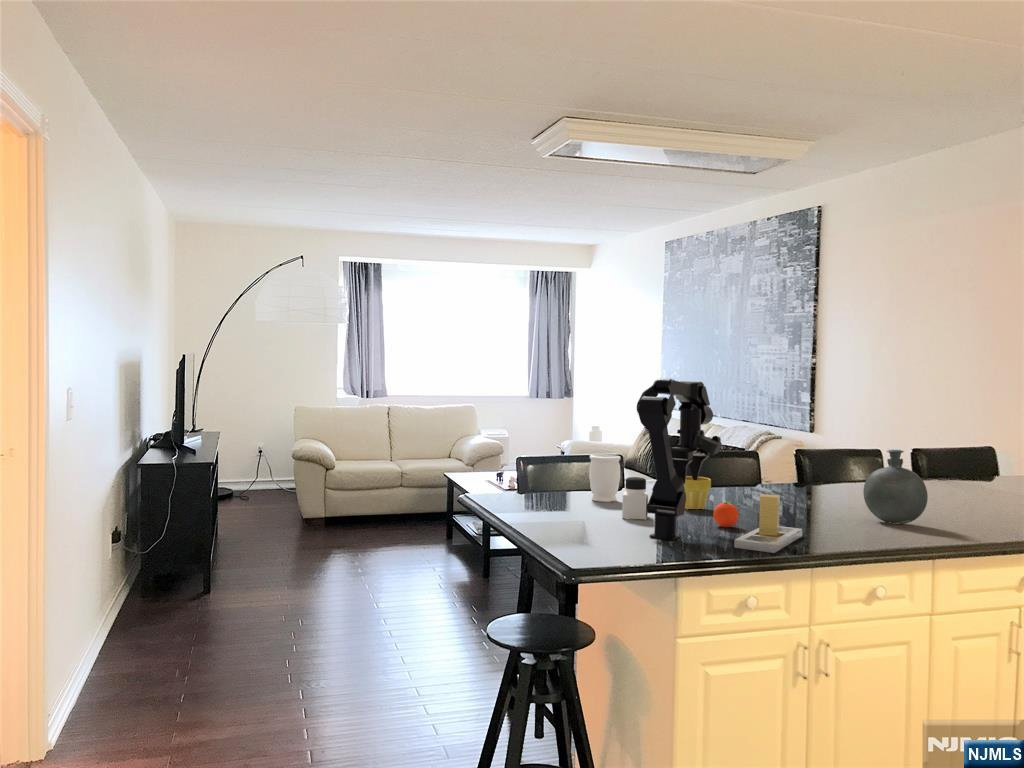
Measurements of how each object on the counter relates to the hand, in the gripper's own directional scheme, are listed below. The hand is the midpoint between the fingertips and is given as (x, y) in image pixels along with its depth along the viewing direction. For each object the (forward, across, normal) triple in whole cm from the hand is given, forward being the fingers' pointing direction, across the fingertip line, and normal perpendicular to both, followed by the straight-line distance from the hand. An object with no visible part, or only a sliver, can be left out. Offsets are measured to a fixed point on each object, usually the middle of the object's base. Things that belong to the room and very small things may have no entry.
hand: (689, 481), depth 238 cm
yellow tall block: (+13, -4, -24) cm, 27 cm away
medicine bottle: (+13, +6, +19) cm, 24 cm away
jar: (+13, +29, +41) cm, 52 cm away
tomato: (+13, +9, -8) cm, 18 cm away
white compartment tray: (+13, -4, -24) cm, 28 cm away
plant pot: (+13, +33, +11) cm, 37 cm away
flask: (+13, +46, -46) cm, 66 cm away
